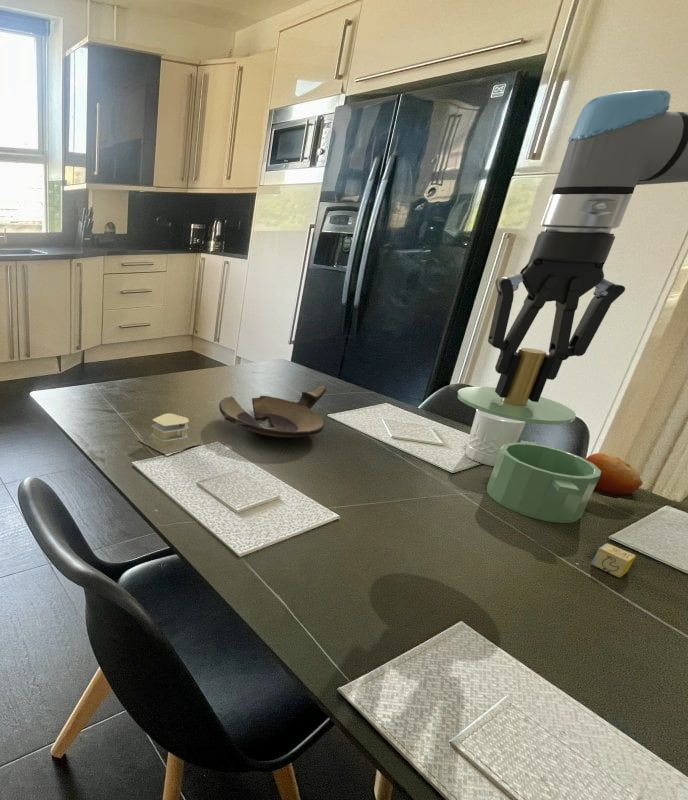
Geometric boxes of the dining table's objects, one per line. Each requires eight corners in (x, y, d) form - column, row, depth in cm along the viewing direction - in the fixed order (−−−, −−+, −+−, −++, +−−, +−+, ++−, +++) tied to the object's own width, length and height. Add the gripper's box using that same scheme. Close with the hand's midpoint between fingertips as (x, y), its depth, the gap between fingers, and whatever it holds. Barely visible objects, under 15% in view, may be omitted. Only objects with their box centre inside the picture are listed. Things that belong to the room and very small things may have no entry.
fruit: (556, 466, 94) (599, 440, 90) (594, 494, 92) (640, 469, 88) (567, 485, 88) (614, 457, 83) (609, 516, 86) (659, 489, 82)
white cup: (468, 446, 105) (482, 404, 101) (514, 460, 99) (531, 415, 96) (456, 457, 100) (471, 413, 97) (504, 472, 95) (521, 426, 91)
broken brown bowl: (198, 414, 120) (202, 385, 117) (309, 407, 125) (314, 379, 122) (240, 456, 99) (245, 422, 96) (370, 447, 104) (378, 414, 101)
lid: (551, 402, 76) (573, 345, 73) (591, 436, 65) (620, 370, 61) (447, 388, 81) (464, 334, 78) (467, 417, 70) (487, 356, 66)
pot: (556, 485, 90) (573, 444, 87) (603, 541, 75) (626, 494, 72) (474, 470, 95) (488, 431, 92) (502, 519, 80) (520, 475, 77)
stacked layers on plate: (167, 457, 99) (169, 432, 97) (137, 441, 105) (139, 417, 103) (200, 444, 104) (203, 421, 102) (170, 430, 111) (172, 407, 109)
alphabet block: (598, 558, 71) (607, 541, 70) (628, 572, 69) (637, 554, 68) (590, 565, 70) (598, 548, 69) (619, 579, 67) (628, 561, 66)
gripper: (510, 229, 64) (456, 395, 72) (678, 233, 57) (598, 415, 66) (493, 227, 70) (446, 381, 79) (643, 231, 64) (574, 397, 72)
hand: (515, 396), depth 72 cm, fingers closed on lid, 3 cm apart
